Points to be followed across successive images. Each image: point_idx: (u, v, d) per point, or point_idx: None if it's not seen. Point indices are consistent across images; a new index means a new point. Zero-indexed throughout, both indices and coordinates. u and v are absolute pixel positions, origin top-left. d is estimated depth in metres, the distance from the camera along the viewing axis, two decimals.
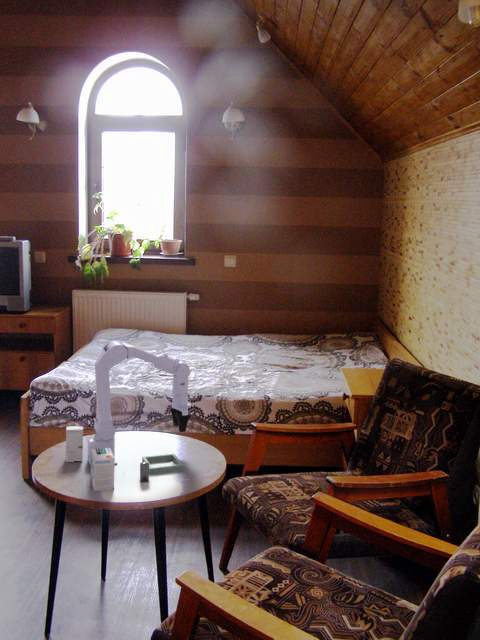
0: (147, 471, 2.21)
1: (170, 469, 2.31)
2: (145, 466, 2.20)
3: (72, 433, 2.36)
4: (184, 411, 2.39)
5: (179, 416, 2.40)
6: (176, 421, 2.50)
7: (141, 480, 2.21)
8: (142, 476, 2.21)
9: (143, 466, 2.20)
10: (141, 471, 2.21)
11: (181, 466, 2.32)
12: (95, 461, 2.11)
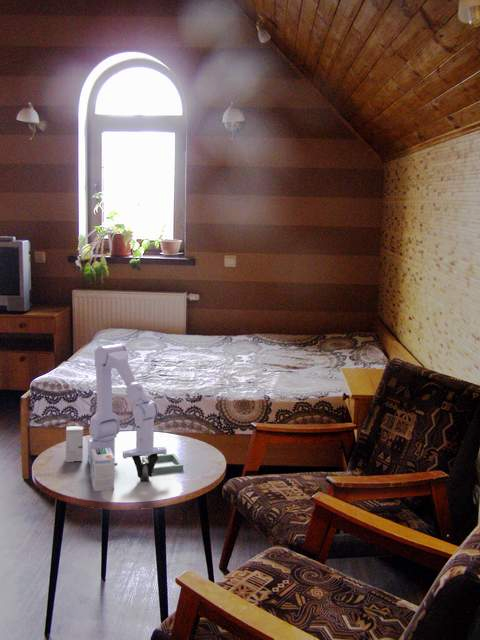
0: (147, 471, 2.21)
1: (170, 469, 2.31)
2: (145, 466, 2.20)
3: (72, 433, 2.36)
4: (123, 453, 2.19)
5: None
6: None
7: (141, 480, 2.21)
8: (142, 476, 2.21)
9: (143, 466, 2.20)
10: (141, 471, 2.21)
11: (181, 466, 2.32)
12: (95, 461, 2.11)
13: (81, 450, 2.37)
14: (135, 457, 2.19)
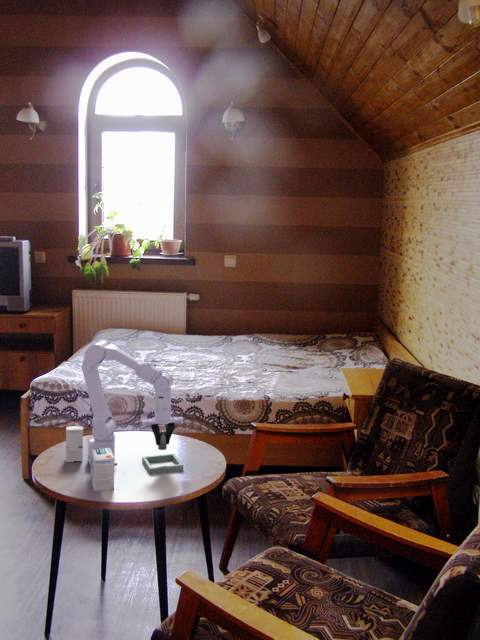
0: (165, 439, 2.33)
1: (170, 469, 2.31)
2: (163, 434, 2.32)
3: (72, 433, 2.36)
4: (142, 421, 2.31)
5: None
6: None
7: (159, 448, 2.33)
8: (160, 444, 2.33)
9: (161, 434, 2.32)
10: (159, 439, 2.33)
11: (181, 466, 2.32)
12: (95, 461, 2.11)
13: (81, 450, 2.37)
14: (154, 425, 2.31)
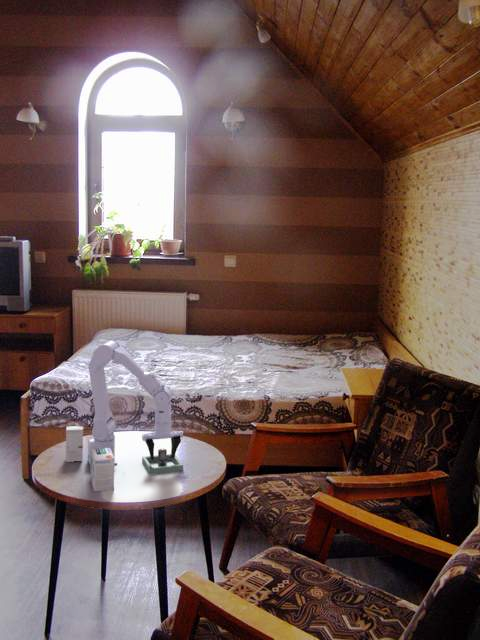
0: (165, 457, 2.34)
1: (170, 469, 2.31)
2: (163, 452, 2.34)
3: (72, 433, 2.36)
4: (142, 435, 2.32)
5: None
6: (172, 452, 2.37)
7: (159, 466, 2.35)
8: (160, 462, 2.34)
9: (161, 452, 2.34)
10: (159, 457, 2.34)
11: (181, 466, 2.32)
12: (95, 461, 2.11)
13: (81, 450, 2.37)
14: (148, 440, 2.32)
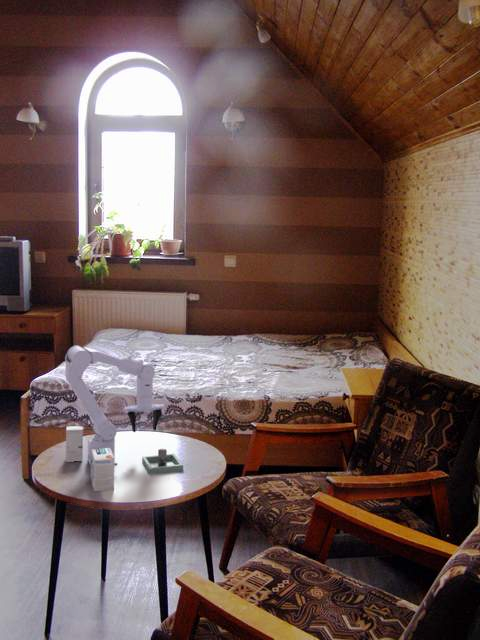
0: (165, 457, 2.34)
1: (170, 469, 2.31)
2: (163, 452, 2.34)
3: (72, 433, 2.36)
4: None
5: (127, 412, 2.43)
6: (153, 425, 2.45)
7: (159, 466, 2.35)
8: (160, 462, 2.34)
9: (161, 452, 2.34)
10: (159, 457, 2.34)
11: (181, 466, 2.32)
12: (95, 461, 2.11)
13: (81, 450, 2.37)
14: (130, 413, 2.40)
